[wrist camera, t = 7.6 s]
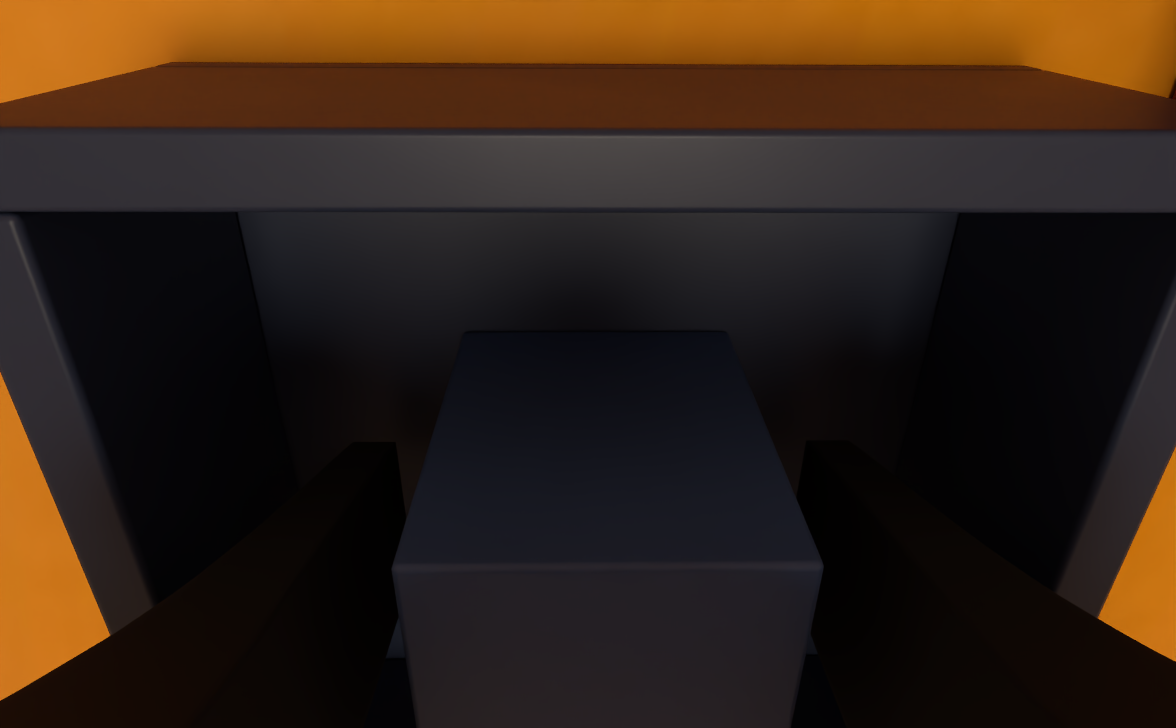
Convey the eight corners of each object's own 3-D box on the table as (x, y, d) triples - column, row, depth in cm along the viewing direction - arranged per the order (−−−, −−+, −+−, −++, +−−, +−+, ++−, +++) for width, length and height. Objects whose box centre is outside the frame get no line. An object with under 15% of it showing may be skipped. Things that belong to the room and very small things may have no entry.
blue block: (707, 535, 13) (774, 824, 9) (479, 536, 13) (430, 828, 9) (728, 330, 11) (827, 565, 7) (462, 329, 11) (388, 568, 7)
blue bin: (870, 658, 15) (972, 899, 11) (314, 661, 15) (221, 908, 11) (1027, 65, 10) (1324, 130, 6) (168, 61, 10) (-109, 128, 6)
